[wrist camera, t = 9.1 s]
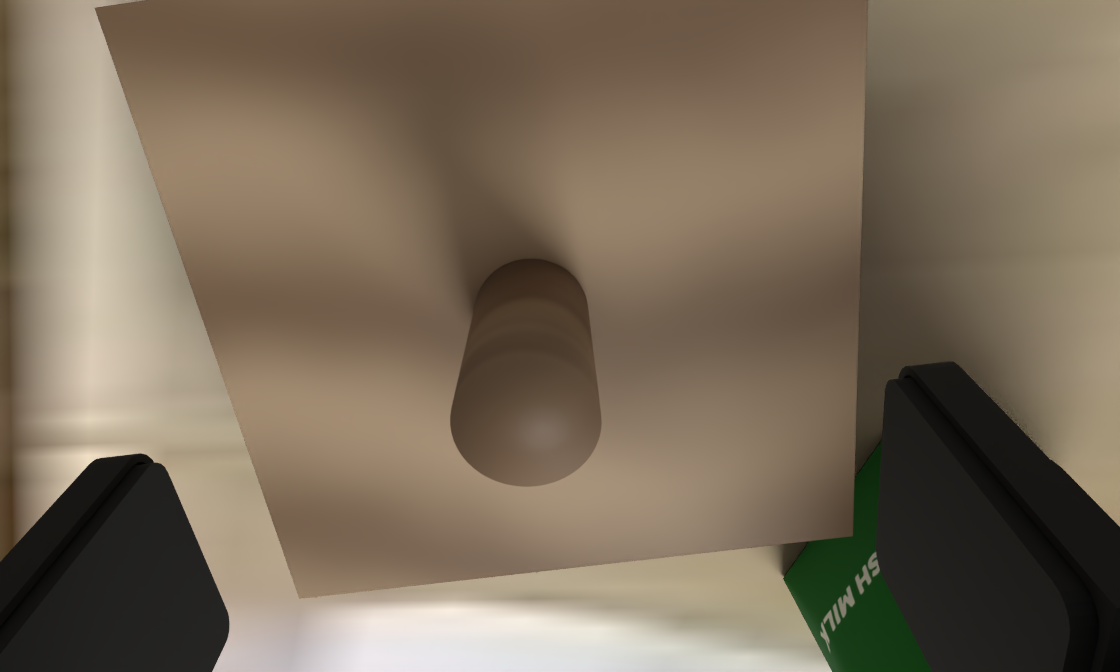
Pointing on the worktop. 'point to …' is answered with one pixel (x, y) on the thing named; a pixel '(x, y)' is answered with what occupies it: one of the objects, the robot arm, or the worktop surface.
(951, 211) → the worktop surface
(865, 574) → the milk carton
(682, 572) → the worktop surface
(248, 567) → the worktop surface
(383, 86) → the lid
